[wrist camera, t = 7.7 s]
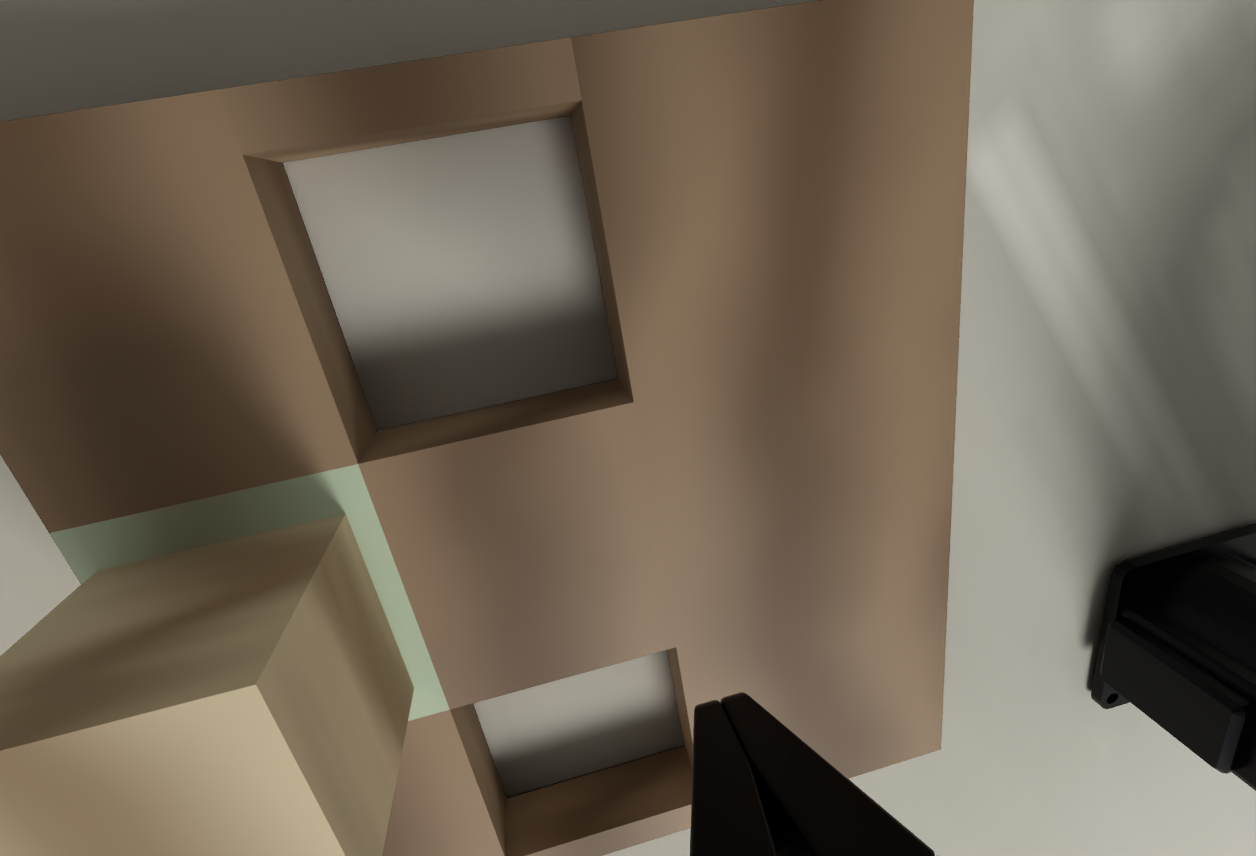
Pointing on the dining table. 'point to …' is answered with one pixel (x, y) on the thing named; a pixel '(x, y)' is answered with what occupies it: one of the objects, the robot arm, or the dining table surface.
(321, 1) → the dining table surface
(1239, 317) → the dining table surface
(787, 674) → the trap board
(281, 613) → the maple block
